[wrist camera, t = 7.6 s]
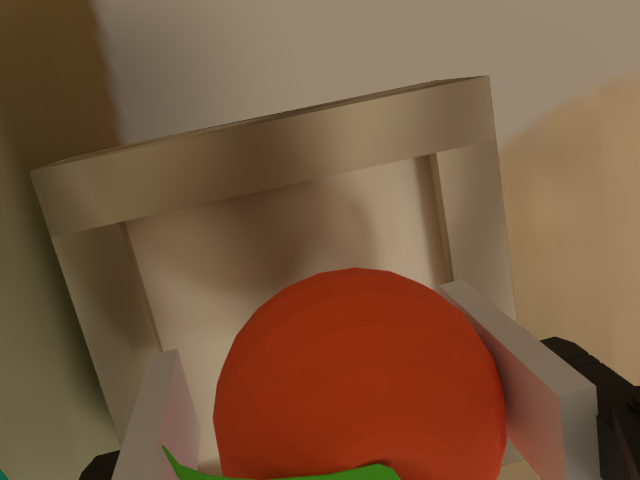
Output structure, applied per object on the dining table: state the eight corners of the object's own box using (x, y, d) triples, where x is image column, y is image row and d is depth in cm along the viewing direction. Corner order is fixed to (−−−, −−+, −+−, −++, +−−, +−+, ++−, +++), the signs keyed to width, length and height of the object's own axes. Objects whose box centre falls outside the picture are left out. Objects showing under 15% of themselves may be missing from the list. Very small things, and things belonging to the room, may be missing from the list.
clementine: (183, 459, 17) (152, 697, 10) (173, 239, 16) (129, 354, 9) (434, 440, 18) (553, 645, 12) (451, 234, 17) (603, 333, 10)
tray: (436, 80, 22) (489, 75, 17) (478, 393, 26) (531, 457, 21) (74, 155, 21) (28, 171, 16) (173, 473, 25) (159, 559, 20)
